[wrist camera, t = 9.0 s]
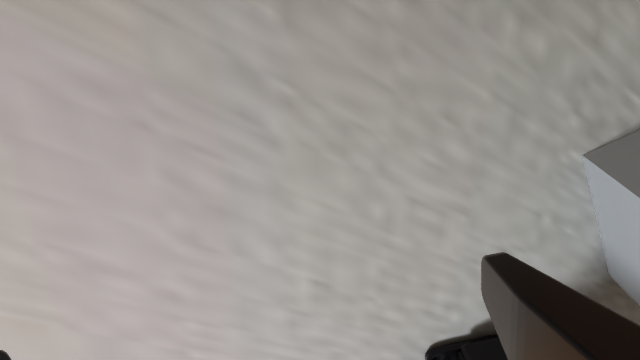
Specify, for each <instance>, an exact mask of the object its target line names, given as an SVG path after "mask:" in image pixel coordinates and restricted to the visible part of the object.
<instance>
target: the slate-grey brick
mask: <svg viewBox="0 0 640 360" xmlns="http://www.w3.org/2000/svg"><path fill="white" fill-rule="evenodd" d="M582 156H583V161H584V165H585V170H586V174H587V179H588V183H589V188H590V192H591V197H592V201H593V206H594V210H595V214H596V219H597V223H598V228H599V232H600V237H601V241H602V246H603V250H604V255H605V259H606V264H607V268H608V272H609V275H610V276H611V278H612V279H613V280H614V281H615V282H616V283H617V284H618V285H619V286H620V287H621V288H622V289H623V290H624V291H625V292H626V293H627V294H628V295H629V296H630V297H631V298H632V299H633V300H634V301H635V302H636V303H637V304H638V305H639V307H640V130H638V131H636V132H633V133H631V134H629V135H627V136H624V137H622V138H620V139H618V140H615V141H613V142H611V143H609V144H606V145H604V146H602V147H600V148H597V149H595V150H593V151H591V152H588V153H586V154H584V155H582Z"/></svg>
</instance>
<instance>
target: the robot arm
mask: <svg viewBox="0 0 640 360" xmlns="http://www.w3.org/2000/svg"><path fill="white" fill-rule="evenodd" d="M481 290H482V296H483V300H484V303H485V305H486V307H487V310H488V312H489V315H490V317H491V320H492V322H493V324H494V327H495V329H496V332H497V335H492V336H487V337H483V338H478V339H473V340H469V341H464V342H460V343H455V344H450V345H446V346H441V347H436V348H432V349H430V350H428V351H427V352H426V354H425V360H640V326H639V325H638V324H636V323H634V322H632V321H630V320H628V319H627V318H625V317H623V316H621V315H619V314H617V313H616V312H614V311H612V310H610V309H608V308H606V307H605V306H603V305H601V304H599V303H597V302H595V301H594V300H592V299H590V298H588V297H586V296H584V295H583V294H581V293H579V292H577V291H575V290H573V289H572V288H570V287H568V286H566V285H564V284H562V283H561V282H559V281H557V280H555V279H553V278H551V277H550V276H548V275H546V274H544V273H542V272H540V271H539V270H537V269H535V268H533V267H531V266H529V265H528V264H526V263H524V262H522V261H520V260H518V259H517V258H515V257H513V256H511V255H509V254H507V253H504V252H501V253H496V254H490V255H486V256H484V257H483V258H482V262H481ZM0 360H11V358H10V357H9V355H8V354H7V353H6V352H4V351H3V350H0Z"/></svg>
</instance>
